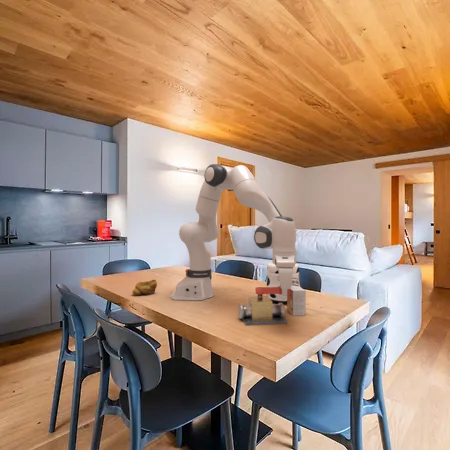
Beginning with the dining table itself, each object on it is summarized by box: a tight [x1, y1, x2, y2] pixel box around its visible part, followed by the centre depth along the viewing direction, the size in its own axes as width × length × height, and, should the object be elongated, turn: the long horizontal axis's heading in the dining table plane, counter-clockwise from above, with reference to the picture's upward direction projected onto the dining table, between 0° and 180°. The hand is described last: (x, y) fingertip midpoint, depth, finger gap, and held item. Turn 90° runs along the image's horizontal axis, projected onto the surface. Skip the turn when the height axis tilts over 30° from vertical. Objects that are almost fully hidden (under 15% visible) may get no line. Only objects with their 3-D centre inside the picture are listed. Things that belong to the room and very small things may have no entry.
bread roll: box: [132, 279, 158, 296], centre depth 153 cm, size 13×10×8 cm
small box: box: [286, 286, 307, 316], centre depth 120 cm, size 8×6×10 cm
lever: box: [254, 286, 290, 296], centre depth 112 cm, size 14×4×3 cm, turn 92°
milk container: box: [265, 261, 301, 304], centre depth 138 cm, size 17×17×18 cm
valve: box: [238, 294, 288, 326], centre depth 112 cm, size 18×12×10 cm
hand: (284, 295), depth 106 cm, fingers closed
